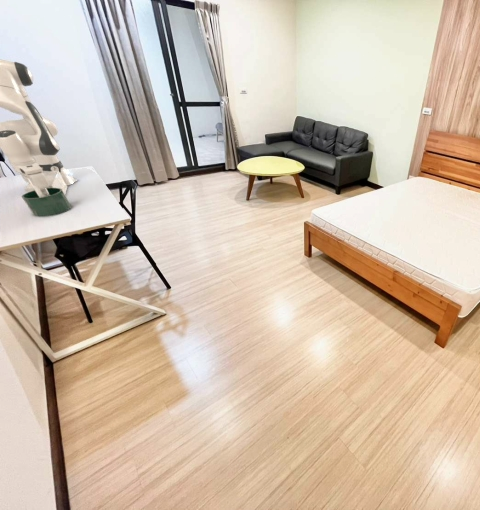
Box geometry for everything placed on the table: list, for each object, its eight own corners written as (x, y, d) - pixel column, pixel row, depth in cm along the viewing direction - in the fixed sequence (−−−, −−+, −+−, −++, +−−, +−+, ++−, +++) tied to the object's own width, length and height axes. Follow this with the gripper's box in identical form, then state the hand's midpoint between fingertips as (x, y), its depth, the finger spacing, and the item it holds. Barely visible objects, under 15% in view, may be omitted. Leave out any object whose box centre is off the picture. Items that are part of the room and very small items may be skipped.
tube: (49, 206, 142) (31, 179, 134) (42, 205, 143) (24, 178, 135) (57, 203, 146) (41, 176, 137) (51, 202, 147) (34, 175, 138)
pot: (28, 211, 144) (16, 194, 138) (64, 202, 155) (54, 185, 149) (40, 219, 138) (28, 201, 132) (76, 208, 149) (67, 191, 143)
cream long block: (45, 189, 169) (35, 172, 163) (67, 186, 174) (58, 170, 168) (37, 207, 148) (24, 189, 142) (62, 203, 153) (51, 185, 147)
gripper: (9, 164, 135) (26, 190, 143) (25, 171, 127) (43, 199, 134) (26, 161, 139) (42, 187, 147) (43, 168, 131) (58, 195, 139)
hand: (42, 193), depth 141 cm, fingers closed on tube, 4 cm apart
